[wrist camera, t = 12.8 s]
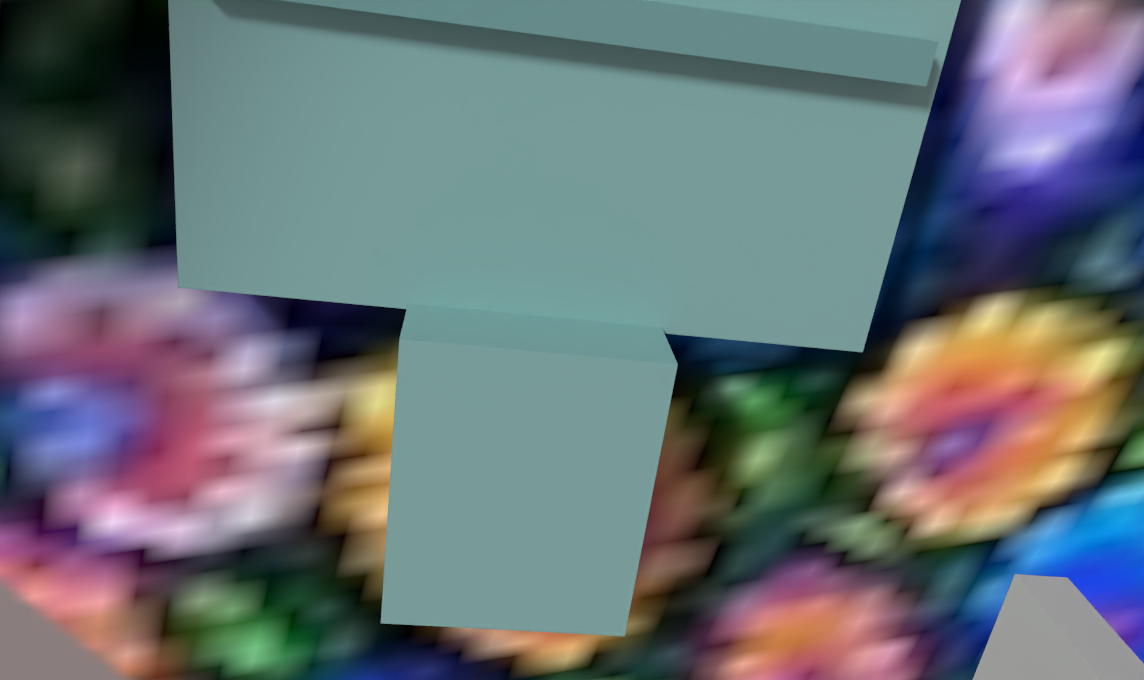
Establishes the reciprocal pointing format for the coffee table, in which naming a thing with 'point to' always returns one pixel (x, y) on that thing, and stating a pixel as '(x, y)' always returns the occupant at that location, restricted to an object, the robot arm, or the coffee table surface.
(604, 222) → the lid
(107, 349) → the coffee table surface
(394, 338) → the coffee table surface
